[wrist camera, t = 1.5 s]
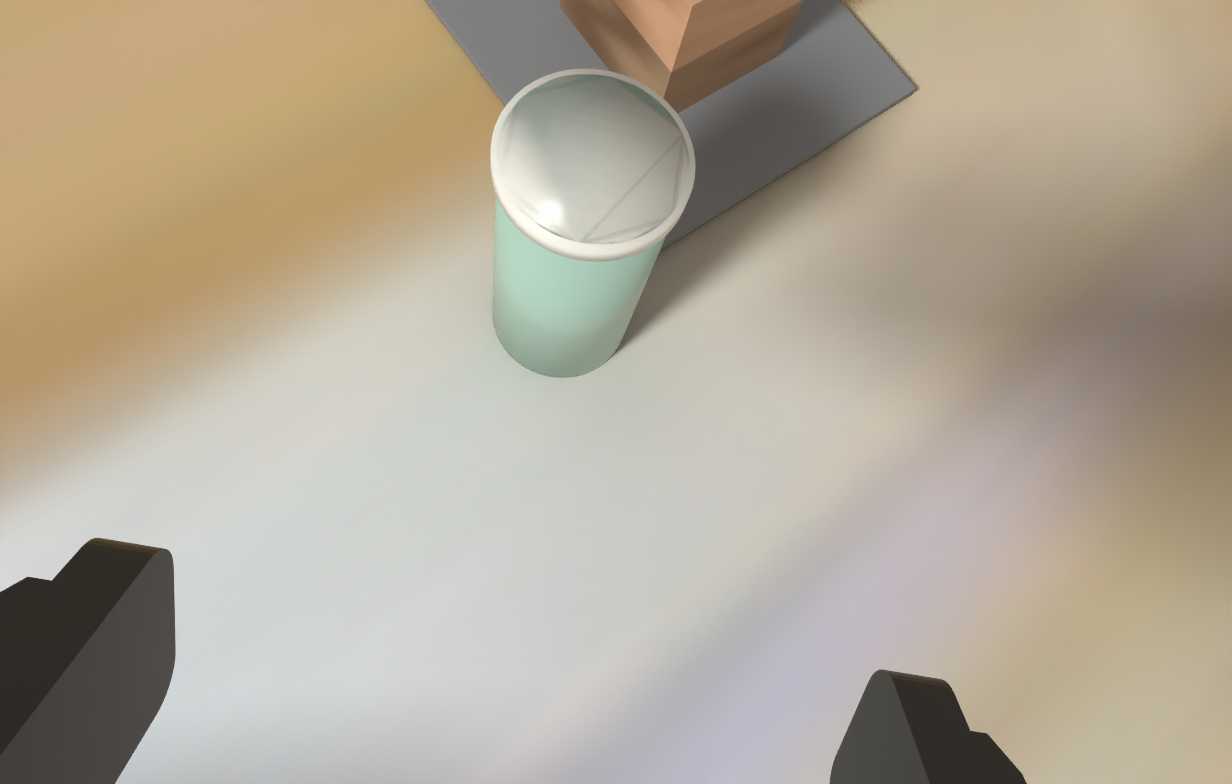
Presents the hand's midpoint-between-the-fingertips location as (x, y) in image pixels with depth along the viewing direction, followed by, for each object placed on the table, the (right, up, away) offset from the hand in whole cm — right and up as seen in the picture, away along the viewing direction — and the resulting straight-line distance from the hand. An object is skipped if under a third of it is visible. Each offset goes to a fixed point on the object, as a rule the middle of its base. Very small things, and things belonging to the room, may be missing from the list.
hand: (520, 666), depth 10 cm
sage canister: (-1, +6, +21) cm, 21 cm away
